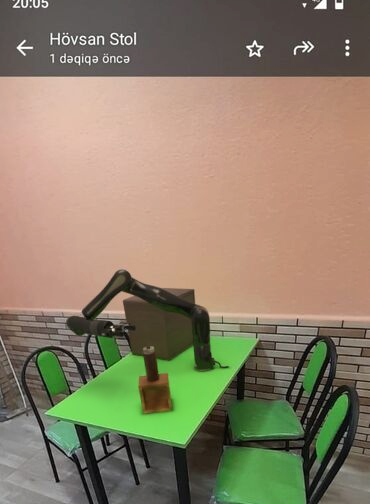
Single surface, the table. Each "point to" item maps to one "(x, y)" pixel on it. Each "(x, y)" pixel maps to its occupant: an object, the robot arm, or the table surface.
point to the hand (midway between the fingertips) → (129, 331)
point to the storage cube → (159, 326)
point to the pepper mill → (150, 364)
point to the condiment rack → (155, 394)
